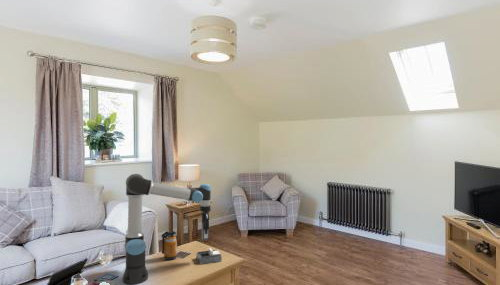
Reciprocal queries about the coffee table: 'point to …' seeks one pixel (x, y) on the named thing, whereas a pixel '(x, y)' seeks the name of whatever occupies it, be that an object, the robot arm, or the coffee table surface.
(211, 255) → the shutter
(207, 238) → the plug
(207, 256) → the socket
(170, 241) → the canister
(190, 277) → the coffee table surface
